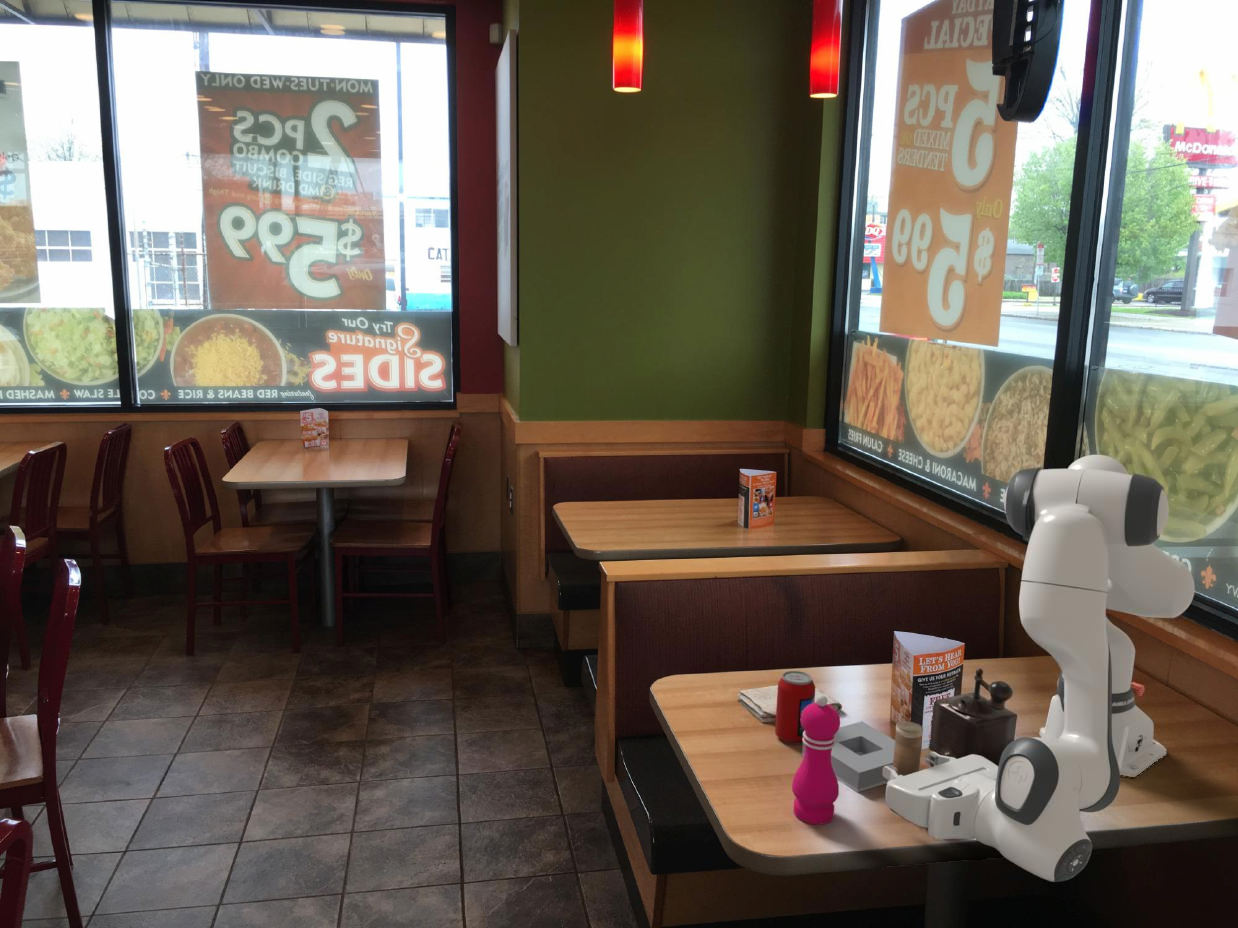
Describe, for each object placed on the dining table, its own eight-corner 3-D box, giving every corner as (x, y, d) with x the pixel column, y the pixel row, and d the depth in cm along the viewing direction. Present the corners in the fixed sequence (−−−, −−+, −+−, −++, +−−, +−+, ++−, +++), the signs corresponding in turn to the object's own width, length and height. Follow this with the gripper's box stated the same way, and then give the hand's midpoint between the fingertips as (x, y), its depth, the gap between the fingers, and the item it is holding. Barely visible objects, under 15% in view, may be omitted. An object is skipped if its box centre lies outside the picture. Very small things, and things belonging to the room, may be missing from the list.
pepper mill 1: (842, 826, 148) (852, 705, 144) (797, 826, 147) (805, 705, 143) (829, 801, 155) (837, 685, 151) (785, 801, 154) (793, 685, 150)
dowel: (901, 799, 156) (909, 719, 153) (920, 811, 152) (928, 729, 150) (883, 805, 154) (890, 724, 151) (902, 817, 150) (910, 735, 148)
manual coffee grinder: (923, 748, 174) (932, 654, 170) (968, 737, 178) (978, 646, 175) (990, 789, 160) (1001, 688, 157) (1037, 776, 165) (1048, 678, 161)
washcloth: (733, 702, 192) (733, 687, 191) (809, 690, 198) (810, 676, 198) (763, 727, 181) (764, 712, 180) (842, 714, 188) (843, 699, 187)
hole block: (860, 738, 177) (861, 721, 176) (918, 773, 165) (919, 754, 164) (801, 755, 170) (803, 736, 169) (857, 792, 158) (859, 772, 157)
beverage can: (811, 748, 172) (816, 686, 170) (773, 743, 174) (777, 681, 171) (811, 731, 179) (816, 671, 177) (775, 727, 180) (779, 667, 178)
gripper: (1027, 769, 144) (954, 731, 156) (931, 801, 134) (861, 758, 146) (1023, 807, 146) (951, 766, 157) (927, 842, 136) (858, 796, 147)
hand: (907, 763), depth 152 cm, fingers open, 8 cm apart
